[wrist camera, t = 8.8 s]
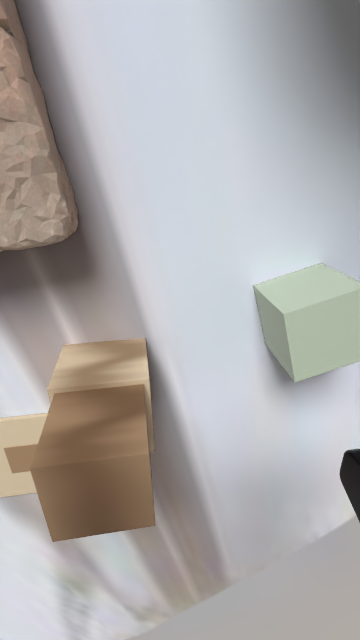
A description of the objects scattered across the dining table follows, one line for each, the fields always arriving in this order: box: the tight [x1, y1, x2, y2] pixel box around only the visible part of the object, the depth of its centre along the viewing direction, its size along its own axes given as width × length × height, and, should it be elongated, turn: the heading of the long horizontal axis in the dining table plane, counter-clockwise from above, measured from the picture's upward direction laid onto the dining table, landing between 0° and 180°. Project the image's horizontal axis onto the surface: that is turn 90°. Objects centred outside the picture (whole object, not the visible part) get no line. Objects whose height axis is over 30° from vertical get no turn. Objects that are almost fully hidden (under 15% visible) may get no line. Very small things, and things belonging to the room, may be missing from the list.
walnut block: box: [30, 384, 155, 542], centre depth 15 cm, size 4×4×4 cm
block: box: [253, 263, 360, 382], centre depth 19 cm, size 4×4×4 cm
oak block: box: [47, 338, 155, 452], centre depth 19 cm, size 5×5×4 cm
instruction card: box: [0, 413, 48, 497], centre depth 23 cm, size 9×7×1 cm
